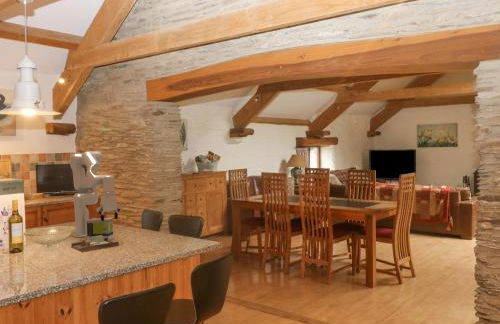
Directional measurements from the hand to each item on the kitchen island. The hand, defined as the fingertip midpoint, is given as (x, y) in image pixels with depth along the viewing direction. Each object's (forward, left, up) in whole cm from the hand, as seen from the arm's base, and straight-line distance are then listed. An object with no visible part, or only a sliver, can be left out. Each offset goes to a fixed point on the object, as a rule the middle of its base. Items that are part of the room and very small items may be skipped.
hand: (109, 219), depth 303 cm
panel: (0, -9, -15) cm, 17 cm away
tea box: (-18, +1, -16) cm, 24 cm away
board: (0, -10, -16) cm, 19 cm away
